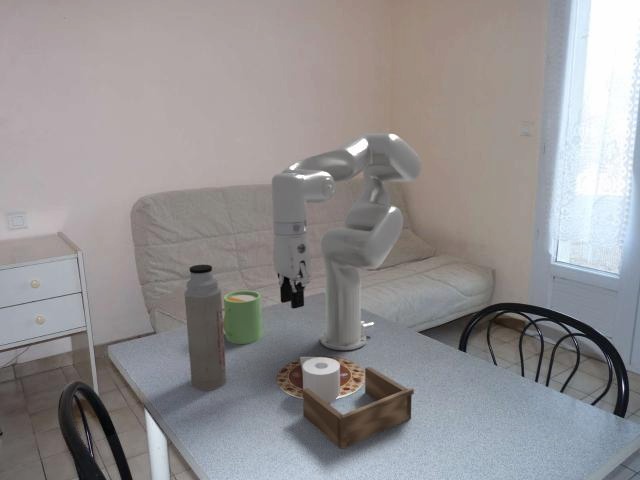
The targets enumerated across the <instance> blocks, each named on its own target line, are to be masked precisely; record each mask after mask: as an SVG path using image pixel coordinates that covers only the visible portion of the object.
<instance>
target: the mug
mask: <svg viewBox="0 0 640 480" xmlns="http://www.w3.org/2000/svg"><path fill="white" fill-rule="evenodd" d="M261 299H262V298H261V294H260V293H259V292H257V291H255V290H237V291H232V292H229V293H227V294H225V295H224V296H223V309H222V312H223V311H224V315H223V332H224V334H225V338H226V341H227V342H229V343H231V344H236V345H237V344H238V345H245V344H251V343H252V344H253V343H256V342H258V341H259V340H260V339H262V337H263V327H262V326H263V325H262V323H263V322H262V305H261V303H262V300H261Z"/></svg>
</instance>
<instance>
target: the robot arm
mask: <svg viewBox="0 0 640 480" xmlns="http://www.w3.org/2000/svg"><path fill="white" fill-rule="evenodd" d="M421 171H422V162H421V159H420V157H419V155H418V153H417V152H416V151H415V149H413V148H412V147H411V146H410V145H409V144H408V143H407V142H406V141H404V140H403V139H402V138H401V137H400V136H398V135H396V134H393V133H363V134H359V135H357V136H356V137H353V138H352V139H351V140H349V141H347V142H346V143H344V144H343V145H340V146H339V147H337V148H336V149H332V150H329V151H325V152H322V153H319V154H317V155H313V156H309V157H307V158H304V159H303V158H302V159H301V160H299V161H295V163H293V164H291V165H289V166H287V167H286V168H285V169H284V170H282V171H281V172H280V173H276V174H275V175H273V177H272V178H271V197H272V198H271V199H272V200H271V201H272V223H273V224H272V226H273V231H272V232H273V236H274V237H273V268H274V271H275V273H276V274H277V278H278V285H279V291H280V292H279V293H280V296H279V297H280V302H281V303H282V304H283V303H284V304H285V303H289V302H290V308H292V309H293V310H294V309H298V308H301V307H302V308H303V307H304V306H305V290H306V287H307V286H308V285H309V284H310V282H311V281H310V277H312V273H313V271H312V258H311V247H310V241H309V238H308V237H309V236H308V235H307V231H308V230H307V205H308V204H310V203H311V204H313V203H314V204H315V203H316V204H318V203H319V204H320V203H323V202H326V201H328V200H329V199H331V198H332V196H334V194H335V190H336V183H341V182H346V181H348V180H351V179H354V178H355V177H356V176H359V175H360V173H361V172H362V173H363V175H362V176H363V190H362V192H361V194H360V195H359V196H358V198H357V199H356V201H355V202H354V203H353V205H352V206H351V207H350V209H349V210H348V212H347V213H346V215H345V218H344V223H343V224H344V227H333V228H330V229H328V230H327V231H325V233H324V234H323V236H322V238H321V241H320V252H321V256H322V261H323V267H324V279H325V280H324V281H325V282H324V283H325V332H323V333H322V334H321V335H320V343H321V345H322V346H324V347H325V348H327V349H330V350H335V351H352V350H356V349H359V348H362V347H364V345H366V344H367V335H366V334H365V333H366V332H367V331H370V330H373V329H375V326H376V325H375V323H374V322H373V321H369V322H367V323H365V321H364V320H361V319H362V300H361V299H362V281H361V276H360V273H359V270H358V268H360V269H366V270H367V269H368V270H374V269H377V268H378V267H380V266H381V265H382V264H383V263H384V261H386V259H387V257H388V255H389V253H390V252H391V250H392V249H393V247H394V246H395V244H396V243H397V241H398V239H399V237H400V235H401V233H402V230H403V227H404V225H403V224H404V217H403V213H402V211H401V209H399V208H398V207H397V206H395V205H393V204H391V201H392V200H391V196H390V192H389V190H388V189H387V187H386V185H385V182H394V183H395V182H399V183H411V182H414V181H416V179H418V177H419V176H420V174H421ZM298 276H299V277H298ZM297 281H298V282H297Z"/></svg>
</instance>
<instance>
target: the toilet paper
mask: <svg viewBox="0 0 640 480" xmlns="http://www.w3.org/2000/svg"><path fill="white" fill-rule="evenodd" d="M299 361H300V367H301V371H302V390H303V389H306V388H308V389H310V390H311V391H312V392H314V393H315V394H316V395H317V396H319V397H320V398H321V399H323V400H324V401H325V402H327V403H328V404H331V403H334V402H336V401H337V400H338V399H336V398H337V397H338V396H339V394H340V395H341V364H340V363H339V361H338V360H336V359H334V358H332V357H325V356H324V357H320V356H319V357H316V356H299Z"/></svg>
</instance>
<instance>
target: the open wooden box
mask: <svg viewBox="0 0 640 480" xmlns="http://www.w3.org/2000/svg"><path fill="white" fill-rule="evenodd" d="M364 371H365V372H364V376H365V378H364V379H365V380H364V381H365V382H364V386H365V387H364V390H365V391H364V393H365V394H366V395H368V396H369V397H371V398H373V399H374V400H376V401H374V402H370V403H368V404H366V405H364V406H361V407H357V408H356V409H354V410H351V411H348V412H346V413H343V414H342V413H341V412H340V411H338V409H336V408H335V407H333V406H332V405H331V404H330V403H327V402H325V401H324V400H323V399H321V398H320V397H319V396H317V395H316V394H315V393H314V392H312V391H311V390H310V389H308V388H306V389H303V388H302V410H303V411H302V416H303V417H304V419H306V420H307V421H308V422H309V423H310V424H312V426H313V427H315V428H316V429H318V430H319V431H320V432H321V433H322V434H323V435H325V436H326V438H328V439H329V441H331V442H333V444H335V445H336V447H337V446H338V448H340V449H341V450H343V449H346V448H347V447H349V446H353V445H354V444H356V443H359V442H361V441H362V440H363V441H364V440H365V439H368V438H370V437H372V436H374V435H376V434H378V433H381V432H384V431H385V430H387V429H390V428H392V427H395V426H397V425H398V424H399V425H400V424H401V423H404V422H406V421H408V420H411V419H412V398H413V397H412V395H414V394H415V392H414V391H415V389H414V388H413V387H412V388H411V387H410V388H407V387H406V386H404V385H402V384H400V383H398V382H396V381H395V380H393V379H392V378H390V377H388V376H386V375H385V374H383V373H382V372H380V371H378V370H377V369H375V368H373V367H371V366H367V367H365V368H364Z"/></svg>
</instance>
